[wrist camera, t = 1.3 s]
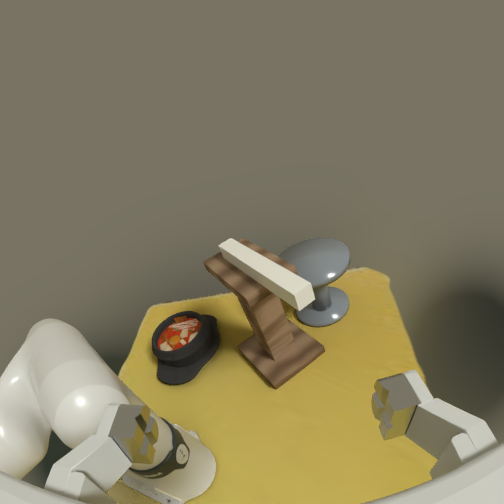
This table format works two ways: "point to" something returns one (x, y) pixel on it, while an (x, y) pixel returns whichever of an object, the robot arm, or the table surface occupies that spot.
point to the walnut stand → (267, 322)
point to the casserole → (184, 345)
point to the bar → (269, 274)
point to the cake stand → (321, 278)
